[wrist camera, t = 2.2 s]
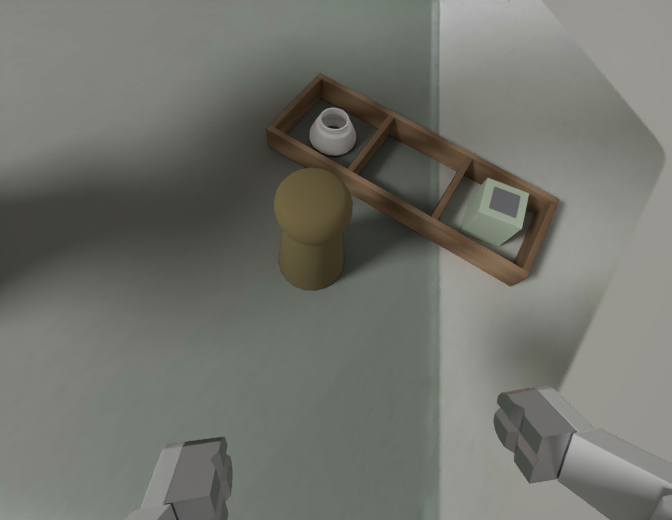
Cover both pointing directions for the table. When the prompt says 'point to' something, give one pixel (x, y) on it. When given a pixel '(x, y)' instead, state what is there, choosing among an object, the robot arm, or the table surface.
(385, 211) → the organiser
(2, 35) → the table surface
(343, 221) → the cork
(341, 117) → the lidless jar
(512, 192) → the cube with grey panel
